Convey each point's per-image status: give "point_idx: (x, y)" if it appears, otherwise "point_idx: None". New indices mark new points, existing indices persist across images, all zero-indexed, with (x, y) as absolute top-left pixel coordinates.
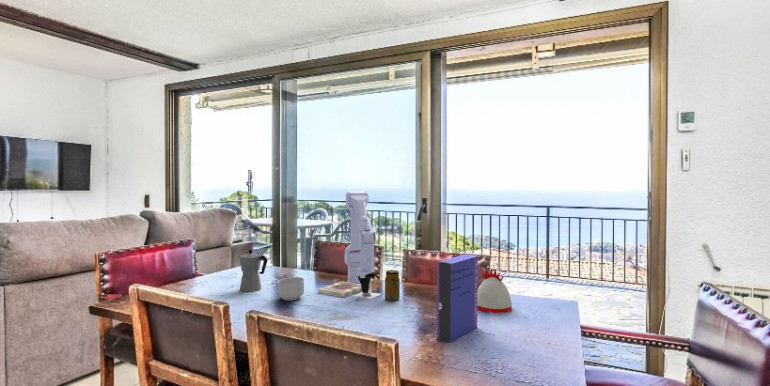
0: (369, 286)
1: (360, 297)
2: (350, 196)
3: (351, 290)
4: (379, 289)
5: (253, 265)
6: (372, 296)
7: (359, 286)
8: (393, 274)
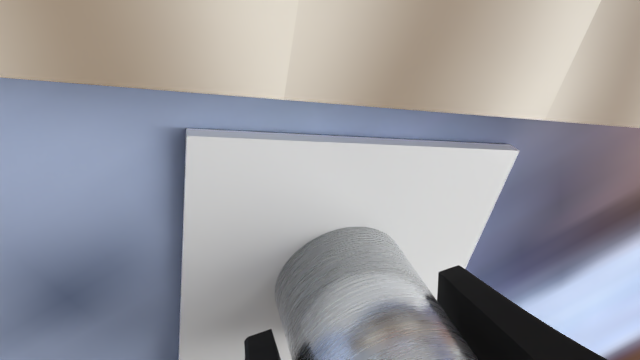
0: None
1: (182, 288)
2: None
3: (314, 85)
4: (628, 221)
5: None
6: None
7: (635, 67)
8: None
